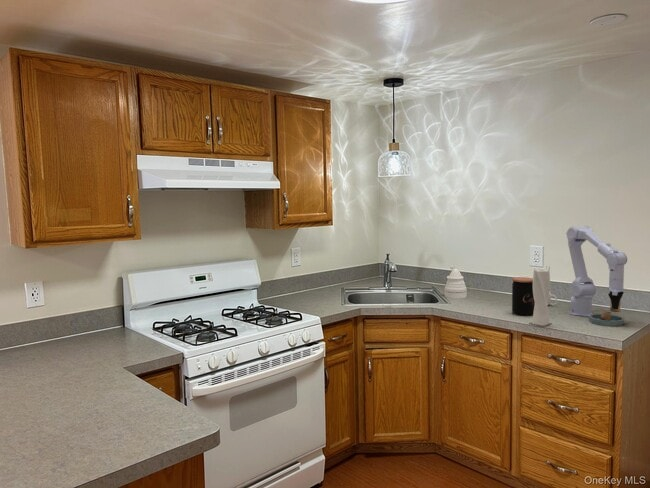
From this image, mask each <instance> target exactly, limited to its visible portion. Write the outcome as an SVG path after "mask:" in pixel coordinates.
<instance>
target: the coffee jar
mask: <svg viewBox="0 0 650 488" xmlns="http://www.w3.org/2000/svg"><path fill="white" fill-rule="evenodd" d="M511 285H512V288H511V289H512V290H511V292H512V293H511V295H512V296H511V304H512V305H511V312H512V313H513V315H515V314H516V316H521V317H528V316H529V317H530V316H533V313H534V306H535V301H534V296H533V277H528V276H527V277H526V276H523V277H522V276H519V277H518V276H517V277H512V284H511Z"/></svg>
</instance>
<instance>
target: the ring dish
mask: <svg viewBox="0 0 650 488" xmlns="http://www.w3.org/2000/svg"><path fill="white" fill-rule="evenodd" d="M588 321H589V323H591V324H593V325H597V326H603V327H622V326H624V324H625V318H624V317H622V316H619V315H615V314H611V321H607V320H601V313H593V314H592V315H590V316H588Z"/></svg>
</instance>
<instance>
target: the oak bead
mask: <svg viewBox="0 0 650 488" xmlns="http://www.w3.org/2000/svg"><path fill="white" fill-rule="evenodd" d="M621 304H622V303H621V300H620V302H619V307H618V309H612V304H611V303H610V305H609V306H610V307H609V308H610V309H609V310H610V311H609V312H611V313H620V312H621Z"/></svg>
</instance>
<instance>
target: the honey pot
mask: <svg viewBox="0 0 650 488" xmlns="http://www.w3.org/2000/svg"><path fill="white" fill-rule="evenodd" d="M449 268H450V270H451V272H450V274H449V275H447V276H446V279H447V280H446V283H445V286H444V297H445V298H447V299H465V298H467V293H468V290H467V286H466V282H465V281H464V278H465V277H464V276H463V275H462V273H461V272H460V271H459V269H458V268H455V266H454V265H453V266H452V265H451V266H449Z"/></svg>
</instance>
